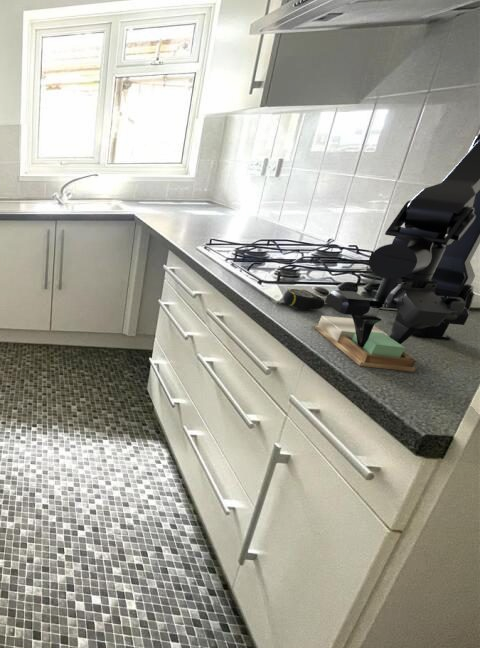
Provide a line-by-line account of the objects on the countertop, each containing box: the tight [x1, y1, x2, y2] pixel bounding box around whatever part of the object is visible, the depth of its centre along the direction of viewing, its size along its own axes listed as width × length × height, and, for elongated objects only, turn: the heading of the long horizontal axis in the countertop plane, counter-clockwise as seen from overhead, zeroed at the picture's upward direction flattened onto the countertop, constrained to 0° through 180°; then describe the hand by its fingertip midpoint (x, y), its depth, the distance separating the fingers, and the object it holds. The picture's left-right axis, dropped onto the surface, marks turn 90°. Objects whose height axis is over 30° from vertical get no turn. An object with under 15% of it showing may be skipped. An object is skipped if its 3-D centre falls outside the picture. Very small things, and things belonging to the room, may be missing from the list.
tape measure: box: [282, 288, 326, 311], centre depth 101 cm, size 7×7×4 cm
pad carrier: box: [315, 315, 417, 373], centre depth 82 cm, size 16×8×3 cm, turn 166°
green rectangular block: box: [352, 332, 406, 357], centre depth 79 cm, size 6×4×3 cm
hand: (375, 347), depth 79 cm, fingers closed on green rectangular block, 4 cm apart
